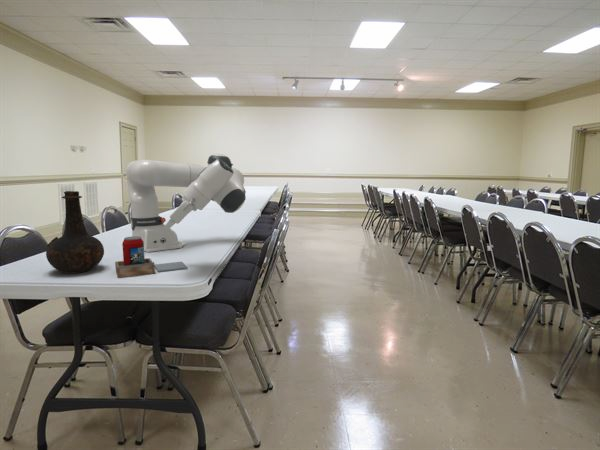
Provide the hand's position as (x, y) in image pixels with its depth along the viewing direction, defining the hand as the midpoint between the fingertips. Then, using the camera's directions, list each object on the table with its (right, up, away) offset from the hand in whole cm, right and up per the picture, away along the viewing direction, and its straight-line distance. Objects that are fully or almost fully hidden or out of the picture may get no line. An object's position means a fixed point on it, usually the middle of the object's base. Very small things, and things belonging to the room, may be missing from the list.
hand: (167, 227), depth 140 cm
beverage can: (-11, -16, 0) cm, 19 cm away
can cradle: (-11, -16, 0) cm, 19 cm away
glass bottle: (-33, -16, +3) cm, 36 cm away
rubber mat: (-1, -15, +6) cm, 16 cm away
